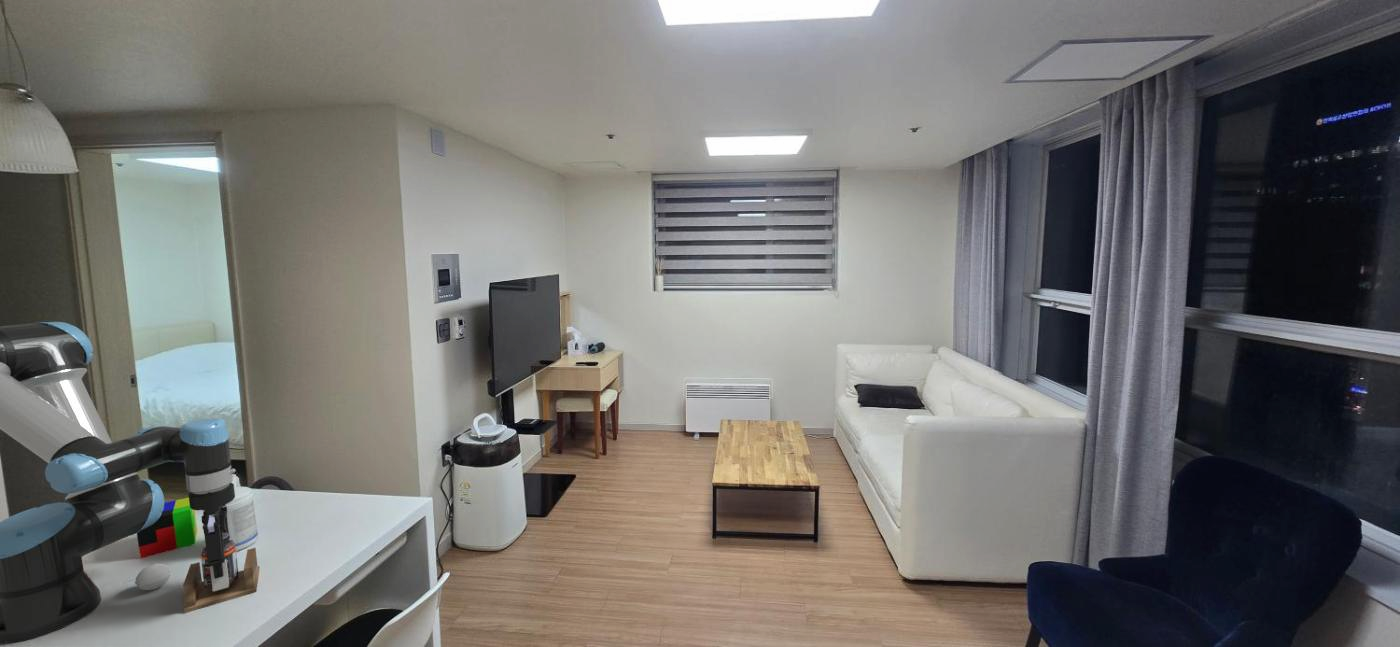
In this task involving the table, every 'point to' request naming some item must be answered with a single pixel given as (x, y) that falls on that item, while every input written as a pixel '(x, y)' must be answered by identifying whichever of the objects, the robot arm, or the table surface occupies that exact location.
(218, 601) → the holder cradle
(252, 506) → the supplement tub
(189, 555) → the table surface
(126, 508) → the robot arm
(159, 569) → the white oval egg shape
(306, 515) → the table surface
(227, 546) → the supplement bottle
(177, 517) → the puzzle toy
